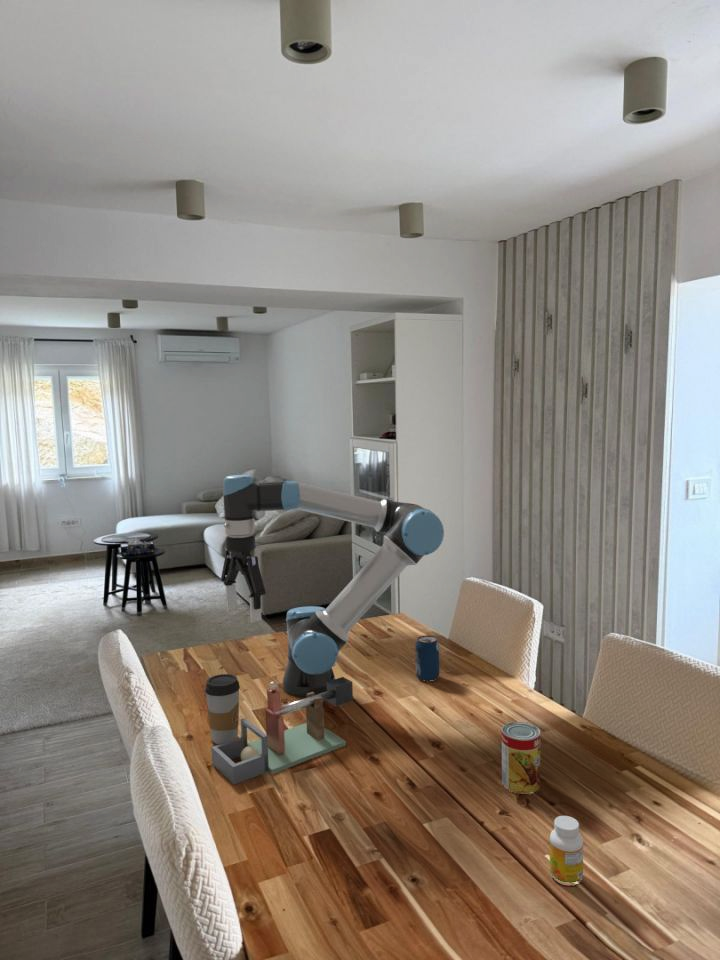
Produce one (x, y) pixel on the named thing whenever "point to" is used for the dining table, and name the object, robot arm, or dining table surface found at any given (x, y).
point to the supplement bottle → (566, 850)
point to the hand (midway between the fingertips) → (243, 614)
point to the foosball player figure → (315, 718)
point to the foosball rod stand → (335, 694)
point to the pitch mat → (299, 747)
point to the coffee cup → (223, 707)
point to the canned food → (520, 757)
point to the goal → (233, 750)
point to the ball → (248, 753)
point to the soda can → (427, 658)
